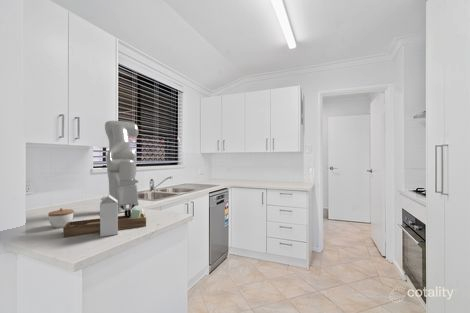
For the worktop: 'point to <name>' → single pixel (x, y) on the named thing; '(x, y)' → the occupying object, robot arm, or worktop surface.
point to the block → (136, 213)
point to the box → (94, 225)
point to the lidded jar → (60, 217)
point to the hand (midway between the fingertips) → (127, 217)
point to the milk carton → (108, 216)
